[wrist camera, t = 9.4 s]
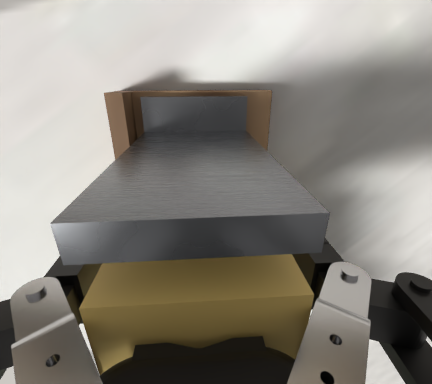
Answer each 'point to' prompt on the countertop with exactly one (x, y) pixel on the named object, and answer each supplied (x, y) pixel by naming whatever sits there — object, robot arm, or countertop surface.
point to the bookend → (191, 193)
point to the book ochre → (195, 304)
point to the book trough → (131, 104)
